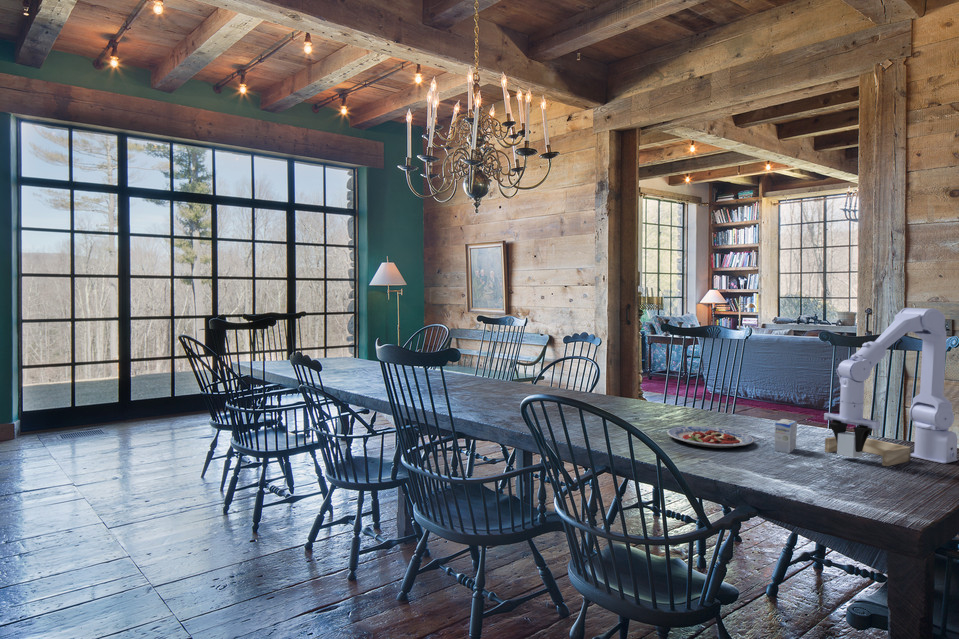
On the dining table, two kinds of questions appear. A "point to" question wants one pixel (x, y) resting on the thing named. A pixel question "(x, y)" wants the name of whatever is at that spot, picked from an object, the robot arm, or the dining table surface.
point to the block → (847, 445)
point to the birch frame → (878, 450)
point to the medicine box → (785, 435)
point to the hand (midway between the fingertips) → (849, 449)
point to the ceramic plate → (710, 436)
